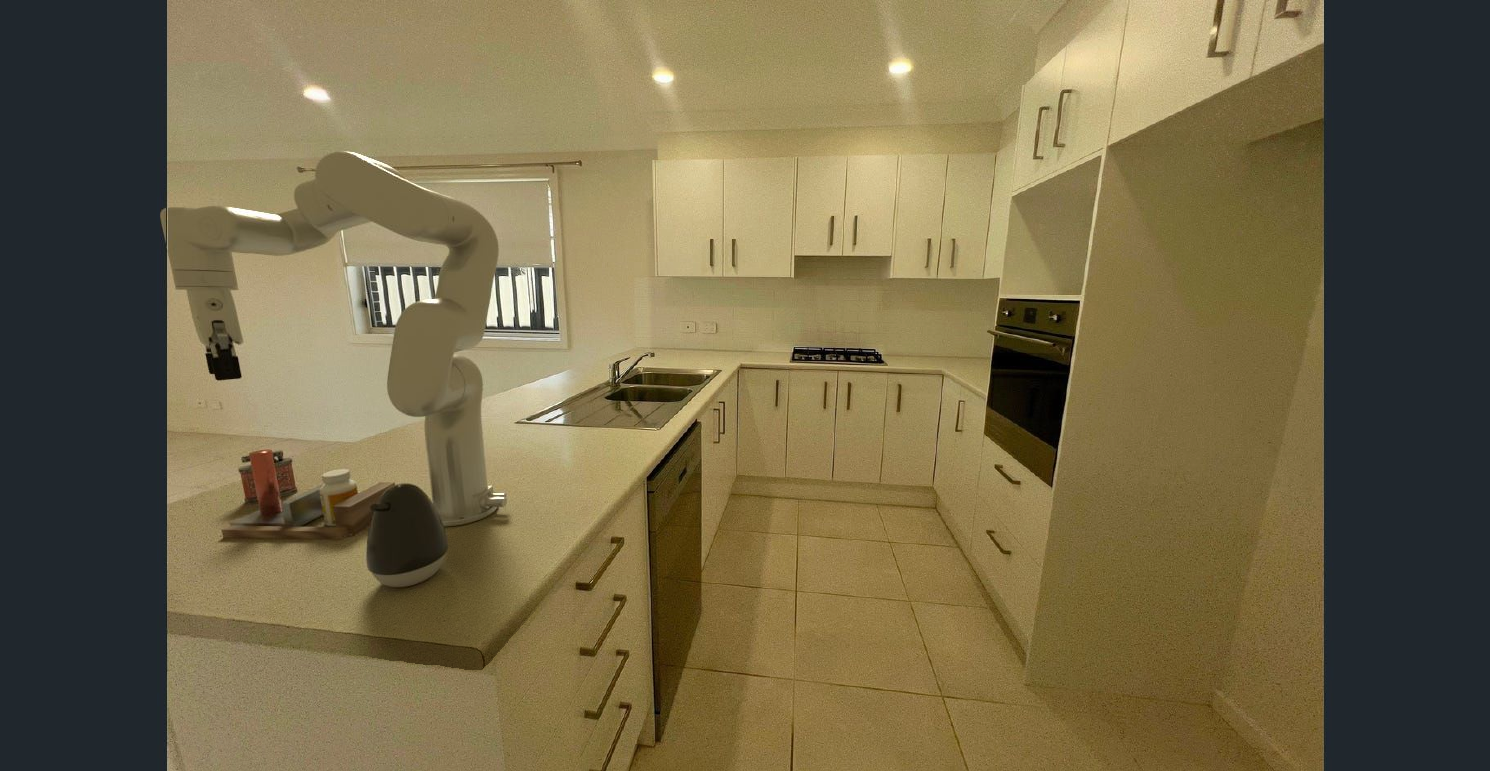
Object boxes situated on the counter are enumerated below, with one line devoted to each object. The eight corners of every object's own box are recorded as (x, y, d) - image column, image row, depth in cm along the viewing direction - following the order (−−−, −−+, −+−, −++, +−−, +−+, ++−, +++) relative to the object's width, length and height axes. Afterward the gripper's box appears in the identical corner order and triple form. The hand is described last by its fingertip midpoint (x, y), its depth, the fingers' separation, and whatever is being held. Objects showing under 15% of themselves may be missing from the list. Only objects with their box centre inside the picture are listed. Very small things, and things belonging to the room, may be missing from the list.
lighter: (295, 488, 105) (287, 445, 103) (299, 492, 103) (291, 448, 101) (243, 501, 98) (234, 455, 96) (246, 505, 96) (237, 458, 94)
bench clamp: (403, 504, 98) (400, 479, 97) (347, 539, 84) (342, 510, 83) (296, 503, 98) (292, 478, 97) (223, 537, 84) (217, 508, 83)
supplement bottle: (368, 514, 93) (361, 468, 91) (343, 527, 88) (335, 478, 86) (343, 513, 94) (336, 466, 92) (317, 526, 88) (308, 477, 87)
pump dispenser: (350, 596, 68) (335, 498, 65) (405, 557, 78) (393, 470, 76) (419, 600, 68) (406, 501, 65) (464, 560, 78) (455, 473, 75)
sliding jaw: (335, 507, 95) (325, 445, 93) (293, 529, 86) (281, 461, 84) (278, 507, 95) (267, 444, 93) (230, 529, 86) (216, 460, 84)
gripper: (244, 282, 82) (262, 379, 85) (230, 282, 92) (247, 369, 96) (177, 280, 76) (199, 385, 79) (170, 281, 87) (190, 373, 90)
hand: (225, 376), depth 88 cm, fingers open, 9 cm apart
